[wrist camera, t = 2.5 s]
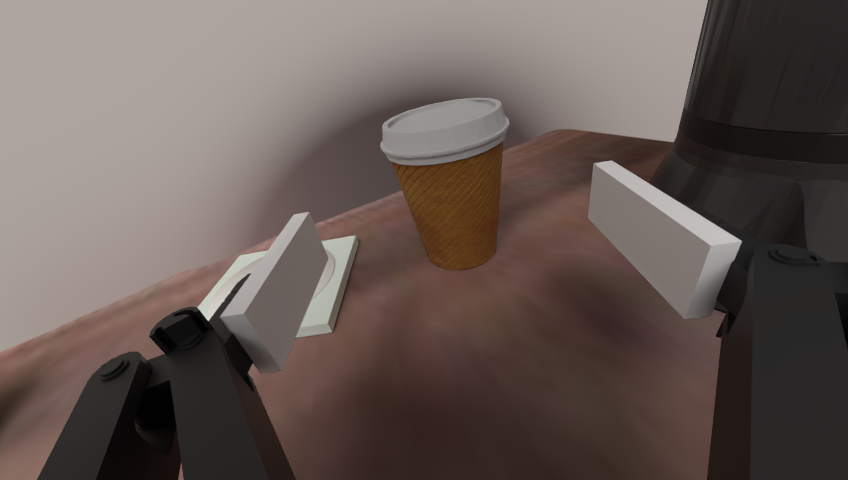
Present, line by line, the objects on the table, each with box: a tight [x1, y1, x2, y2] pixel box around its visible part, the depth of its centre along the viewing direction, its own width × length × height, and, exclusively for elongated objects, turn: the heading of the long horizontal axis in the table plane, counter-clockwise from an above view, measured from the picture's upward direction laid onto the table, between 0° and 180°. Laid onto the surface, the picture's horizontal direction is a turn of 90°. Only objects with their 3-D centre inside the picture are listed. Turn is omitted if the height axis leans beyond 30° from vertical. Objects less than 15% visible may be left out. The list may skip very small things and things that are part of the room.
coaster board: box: [198, 235, 359, 338], centre depth 29 cm, size 13×12×1 cm
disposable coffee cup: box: [380, 98, 509, 270], centre depth 26 cm, size 10×10×12 cm
